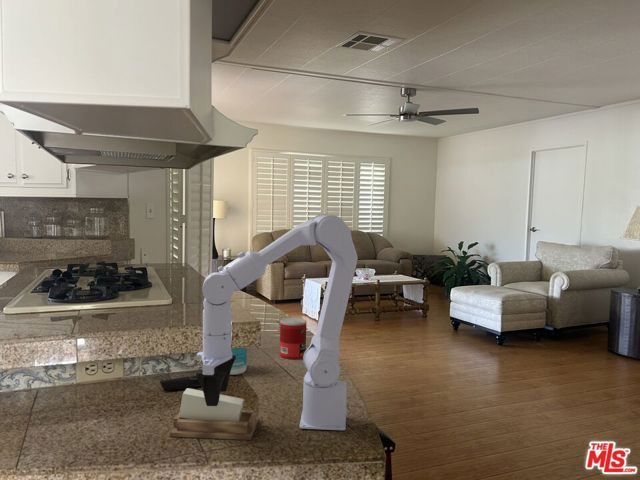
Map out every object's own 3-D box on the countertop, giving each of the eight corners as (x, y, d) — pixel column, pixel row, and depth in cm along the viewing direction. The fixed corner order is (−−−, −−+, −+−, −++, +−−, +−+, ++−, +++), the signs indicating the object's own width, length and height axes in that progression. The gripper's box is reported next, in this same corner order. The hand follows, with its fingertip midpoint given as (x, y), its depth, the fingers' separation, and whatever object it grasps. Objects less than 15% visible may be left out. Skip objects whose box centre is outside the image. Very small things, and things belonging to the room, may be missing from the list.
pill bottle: (252, 370, 139) (252, 322, 138) (233, 377, 133) (234, 327, 132) (231, 365, 143) (232, 318, 142) (213, 372, 137) (213, 323, 136)
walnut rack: (258, 420, 107) (258, 408, 107) (250, 440, 98) (251, 427, 98) (184, 417, 108) (184, 405, 108) (170, 436, 99) (170, 423, 99)
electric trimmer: (158, 390, 124) (158, 377, 124) (220, 380, 131) (220, 369, 131) (161, 395, 121) (160, 382, 121) (224, 385, 128) (224, 373, 128)
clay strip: (239, 422, 104) (244, 399, 104) (236, 428, 101) (241, 404, 101) (183, 411, 105) (187, 388, 104) (178, 417, 102) (182, 393, 101)
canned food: (305, 360, 150) (306, 323, 149) (278, 359, 150) (279, 322, 149) (306, 352, 157) (307, 318, 157) (280, 351, 157) (281, 317, 157)
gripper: (207, 323, 109) (206, 384, 110) (186, 341, 95) (186, 411, 96) (239, 324, 109) (238, 385, 110) (224, 342, 94) (223, 413, 95)
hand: (216, 398), depth 103 cm, fingers open, 7 cm apart
